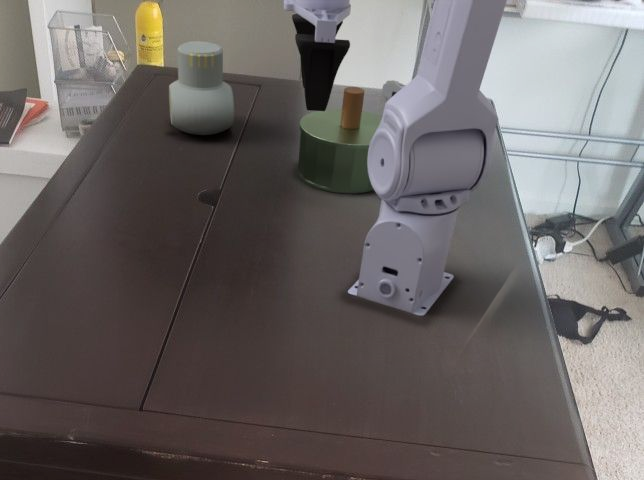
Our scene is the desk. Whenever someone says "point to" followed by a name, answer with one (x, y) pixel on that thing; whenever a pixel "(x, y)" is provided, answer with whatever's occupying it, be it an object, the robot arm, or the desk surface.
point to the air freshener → (201, 91)
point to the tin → (333, 167)
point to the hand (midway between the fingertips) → (313, 98)
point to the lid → (343, 123)
